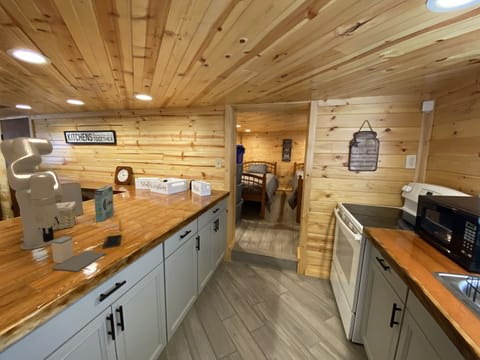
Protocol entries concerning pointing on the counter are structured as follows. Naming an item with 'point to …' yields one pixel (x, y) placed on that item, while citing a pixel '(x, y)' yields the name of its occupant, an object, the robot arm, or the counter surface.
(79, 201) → the tall grey box
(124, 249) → the counter surface
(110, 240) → the phone
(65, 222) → the storage basket
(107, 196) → the teal rectangular box
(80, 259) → the mat
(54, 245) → the block
